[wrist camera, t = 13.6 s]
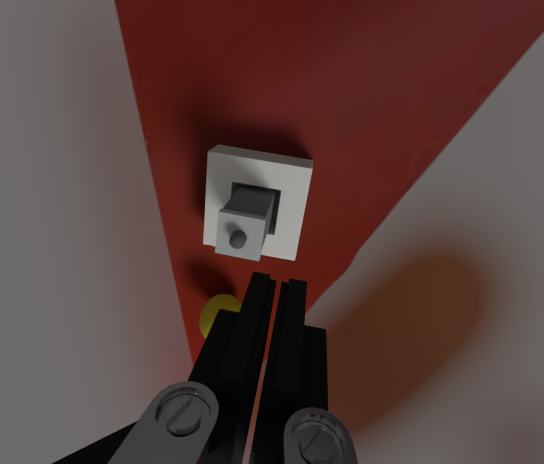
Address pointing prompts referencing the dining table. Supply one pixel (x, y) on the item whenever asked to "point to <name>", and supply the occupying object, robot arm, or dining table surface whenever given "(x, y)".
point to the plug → (245, 222)
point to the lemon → (213, 307)
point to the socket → (265, 173)
